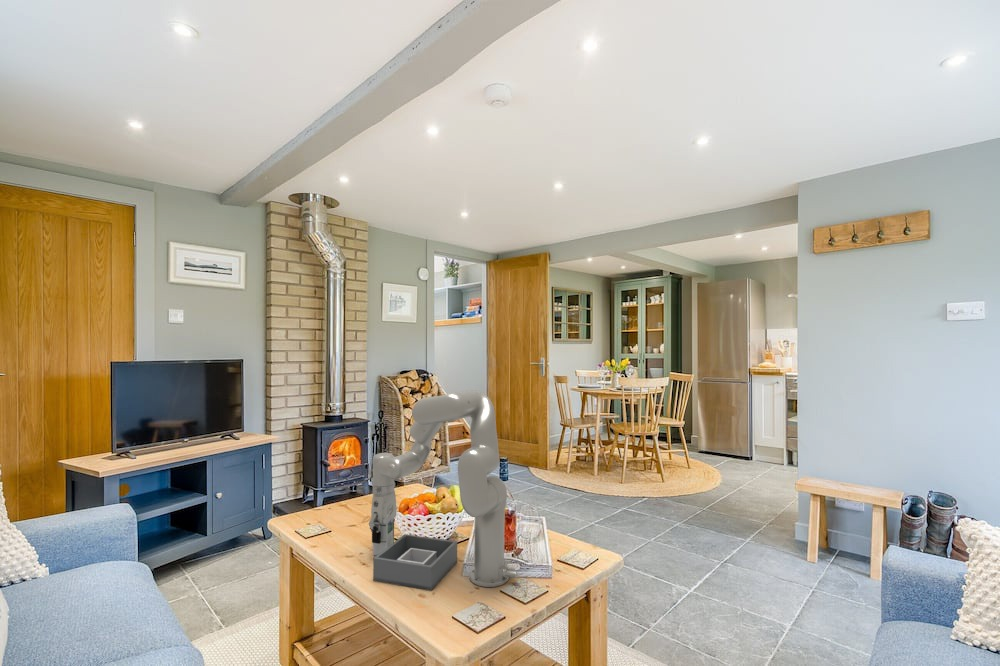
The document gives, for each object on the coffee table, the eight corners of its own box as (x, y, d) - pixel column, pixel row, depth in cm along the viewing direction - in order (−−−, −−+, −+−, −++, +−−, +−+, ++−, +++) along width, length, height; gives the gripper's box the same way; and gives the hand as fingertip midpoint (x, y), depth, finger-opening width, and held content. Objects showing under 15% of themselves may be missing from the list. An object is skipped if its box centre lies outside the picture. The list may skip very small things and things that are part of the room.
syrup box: (387, 556, 170) (387, 514, 170) (371, 555, 171) (372, 513, 172) (394, 549, 176) (394, 509, 176) (379, 548, 177) (379, 508, 177)
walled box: (457, 562, 166) (457, 541, 166) (431, 590, 147) (431, 567, 147) (404, 554, 172) (404, 534, 172) (373, 580, 153) (373, 558, 153)
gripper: (379, 497, 164) (379, 549, 164) (404, 482, 181) (404, 530, 181) (360, 495, 167) (359, 546, 167) (387, 481, 183) (386, 527, 183)
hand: (383, 537), depth 174 cm, fingers open, 8 cm apart
